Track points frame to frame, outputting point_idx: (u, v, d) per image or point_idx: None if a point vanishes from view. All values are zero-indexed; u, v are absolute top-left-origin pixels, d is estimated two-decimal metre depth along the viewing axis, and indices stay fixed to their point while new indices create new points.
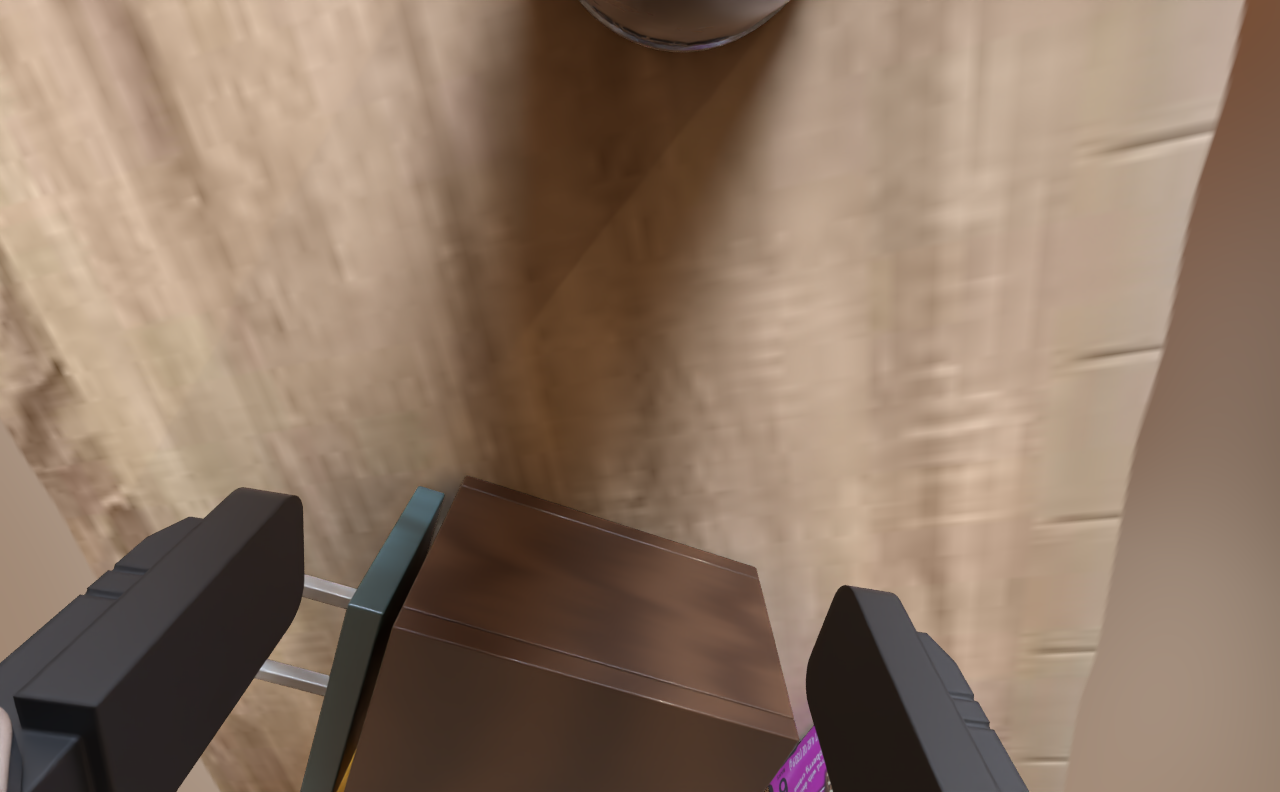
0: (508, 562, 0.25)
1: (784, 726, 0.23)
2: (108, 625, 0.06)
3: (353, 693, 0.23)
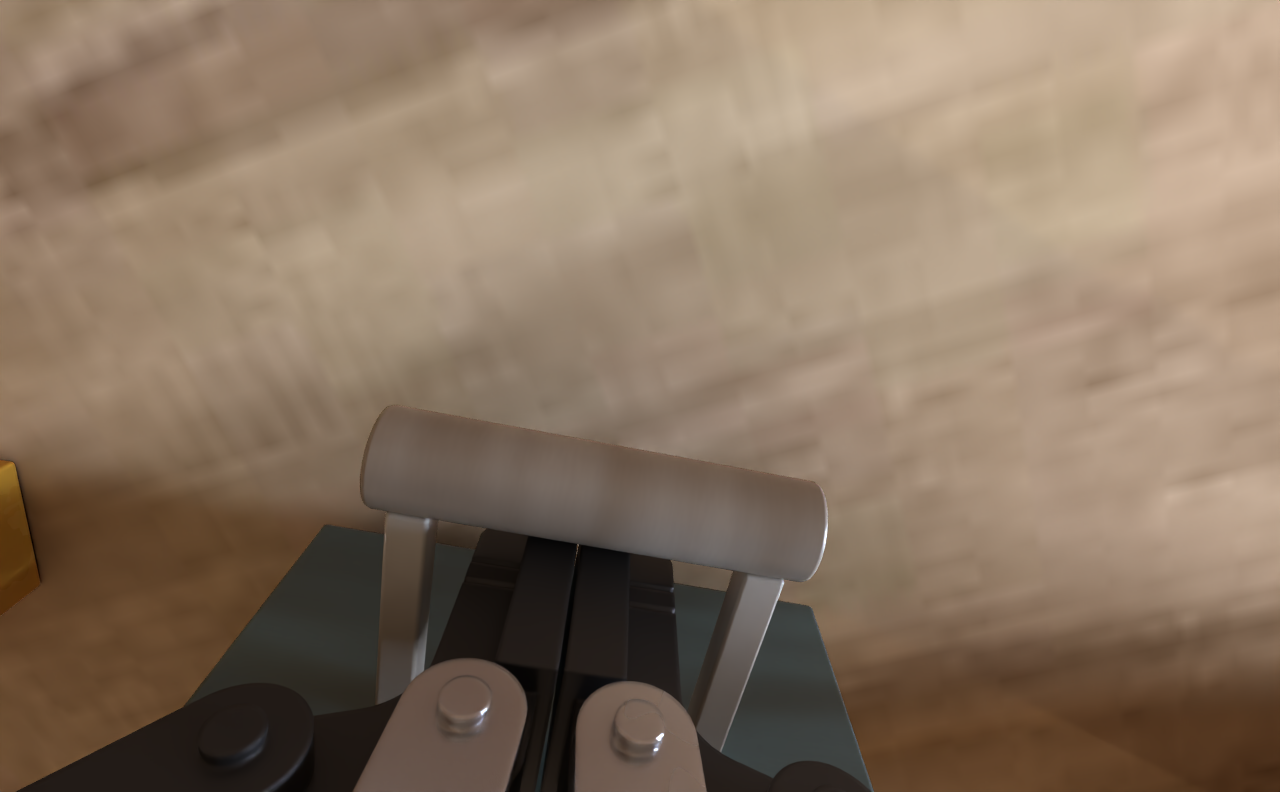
0: None
1: None
2: (523, 605, 0.08)
3: None
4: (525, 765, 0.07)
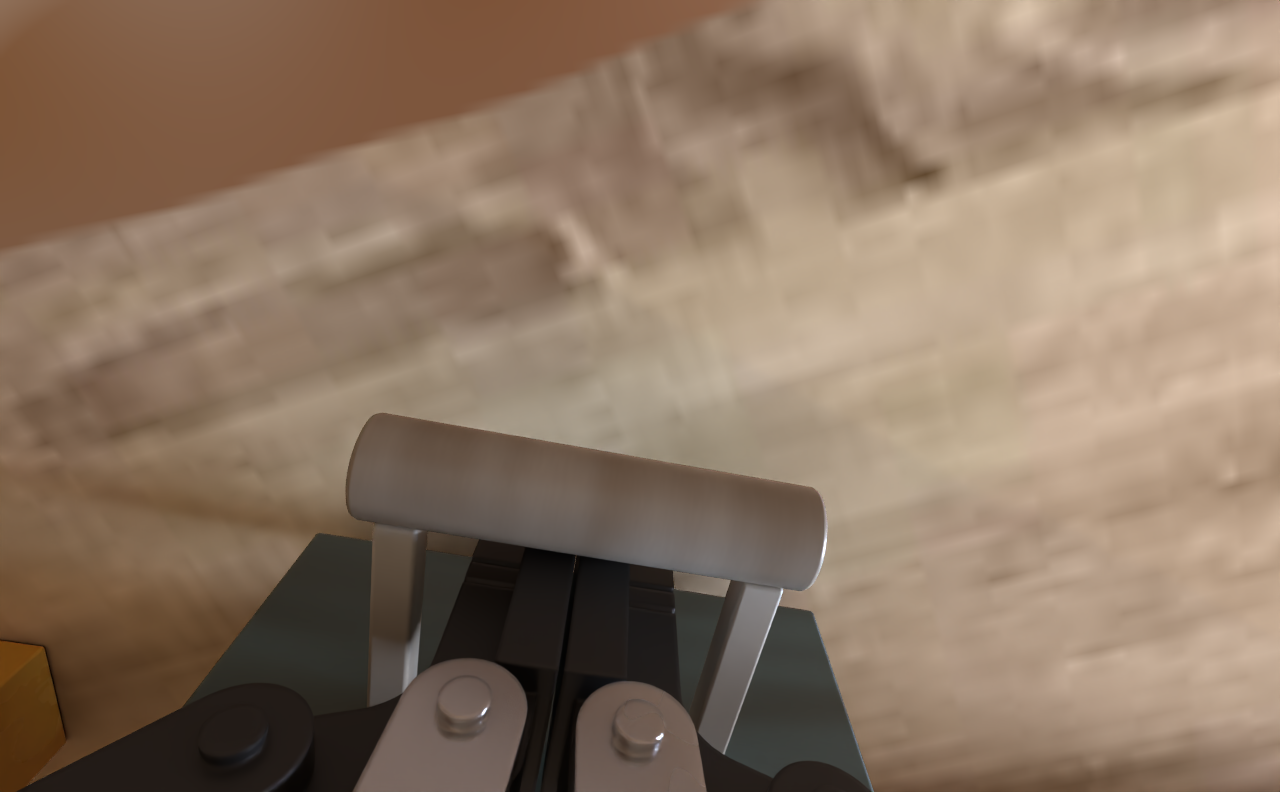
0: None
1: None
2: (523, 605, 0.08)
3: None
4: (525, 765, 0.07)
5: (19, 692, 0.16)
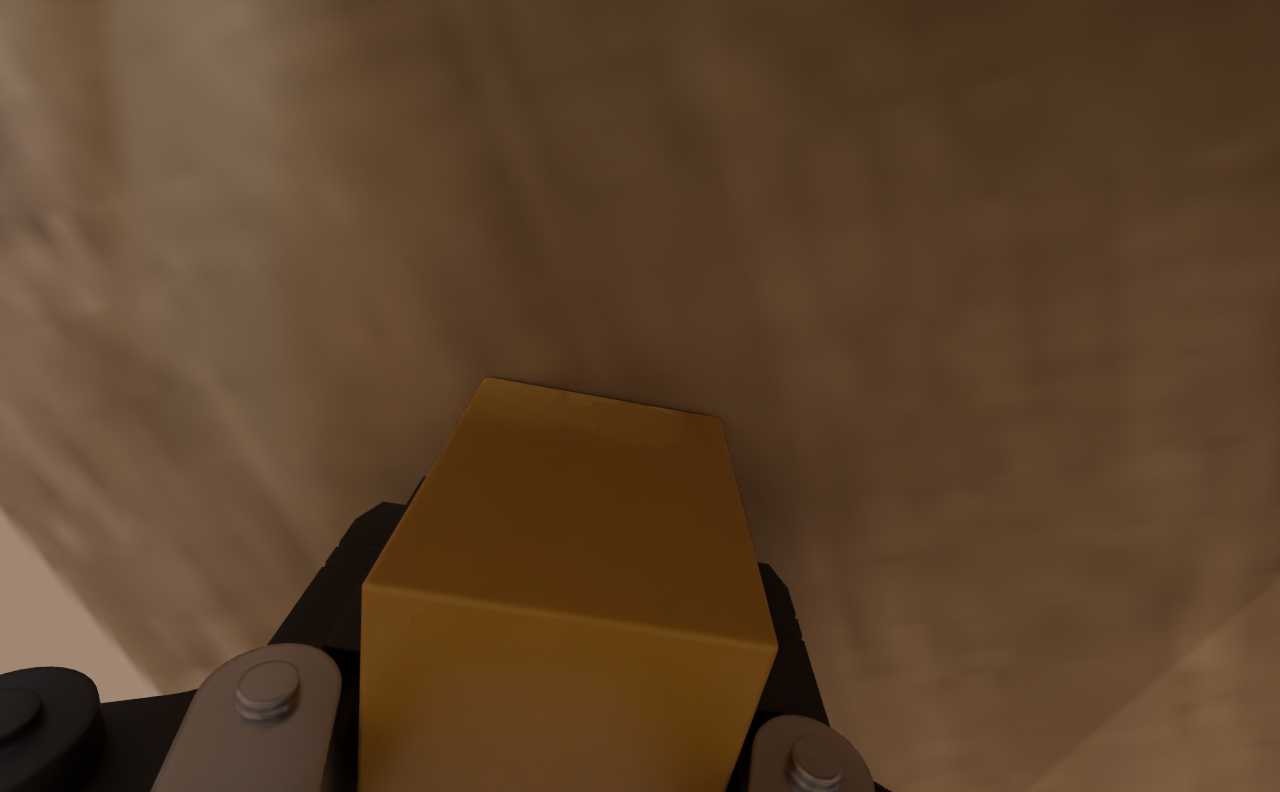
0: None
1: None
2: None
3: None
4: None
5: (518, 407, 0.09)
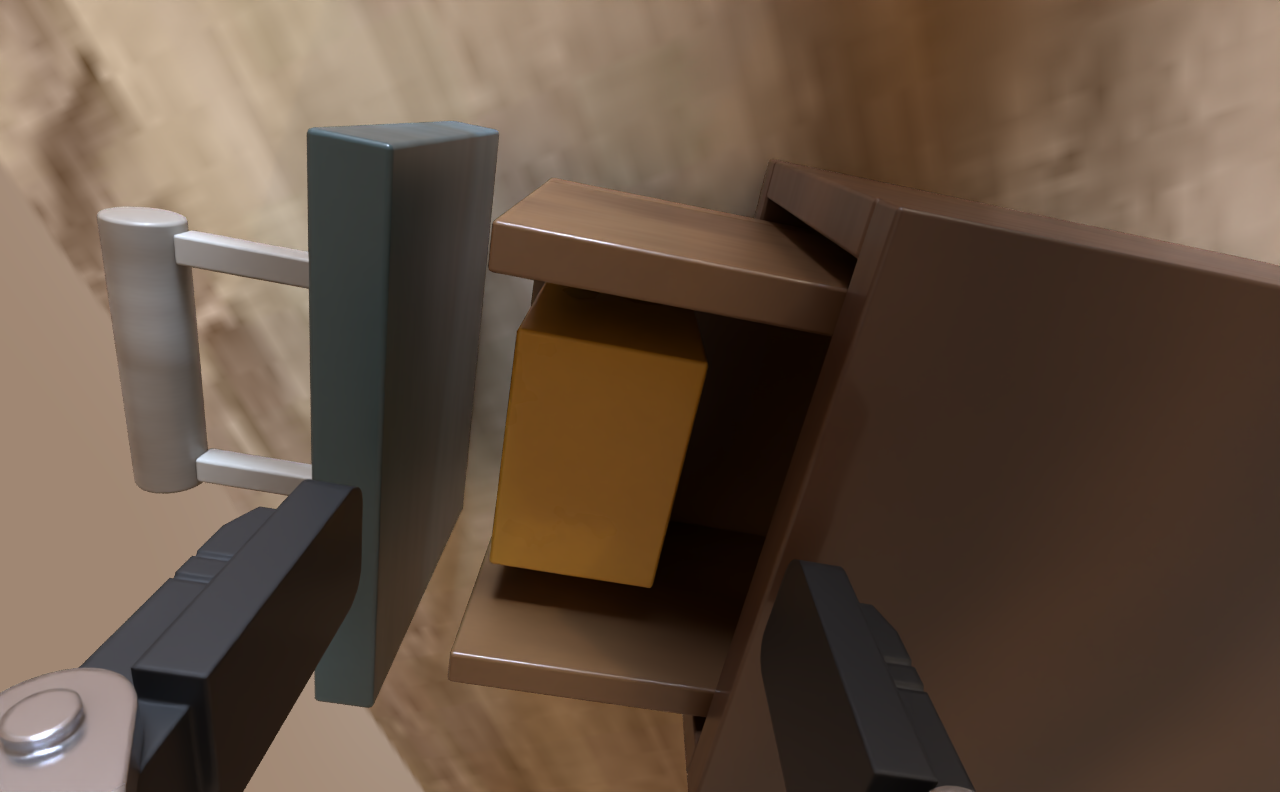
0: (957, 204, 0.13)
1: None
2: (206, 605, 0.07)
3: (367, 398, 0.10)
4: (203, 785, 0.07)
5: None
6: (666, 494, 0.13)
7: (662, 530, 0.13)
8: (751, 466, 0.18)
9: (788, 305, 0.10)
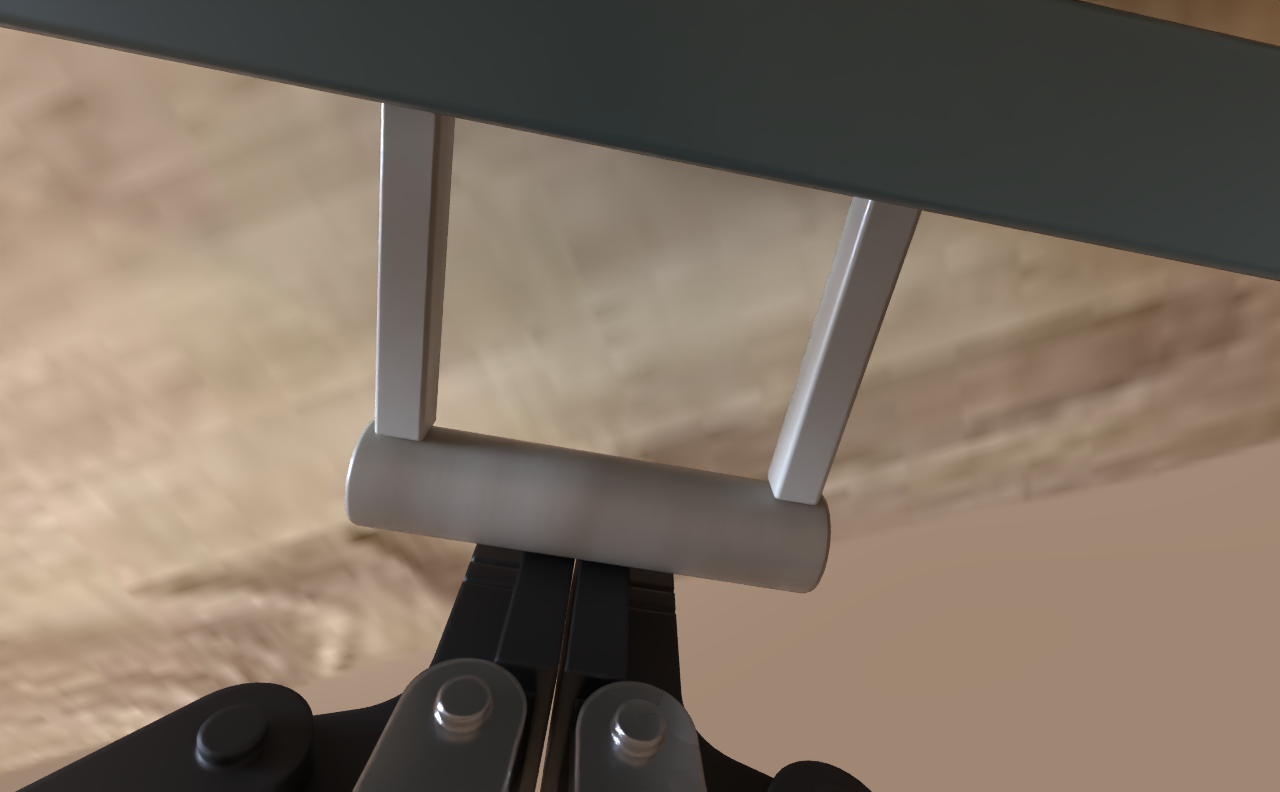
0: None
1: None
2: (523, 605, 0.08)
3: None
4: (525, 765, 0.07)
5: None
6: None
7: None
8: None
9: None
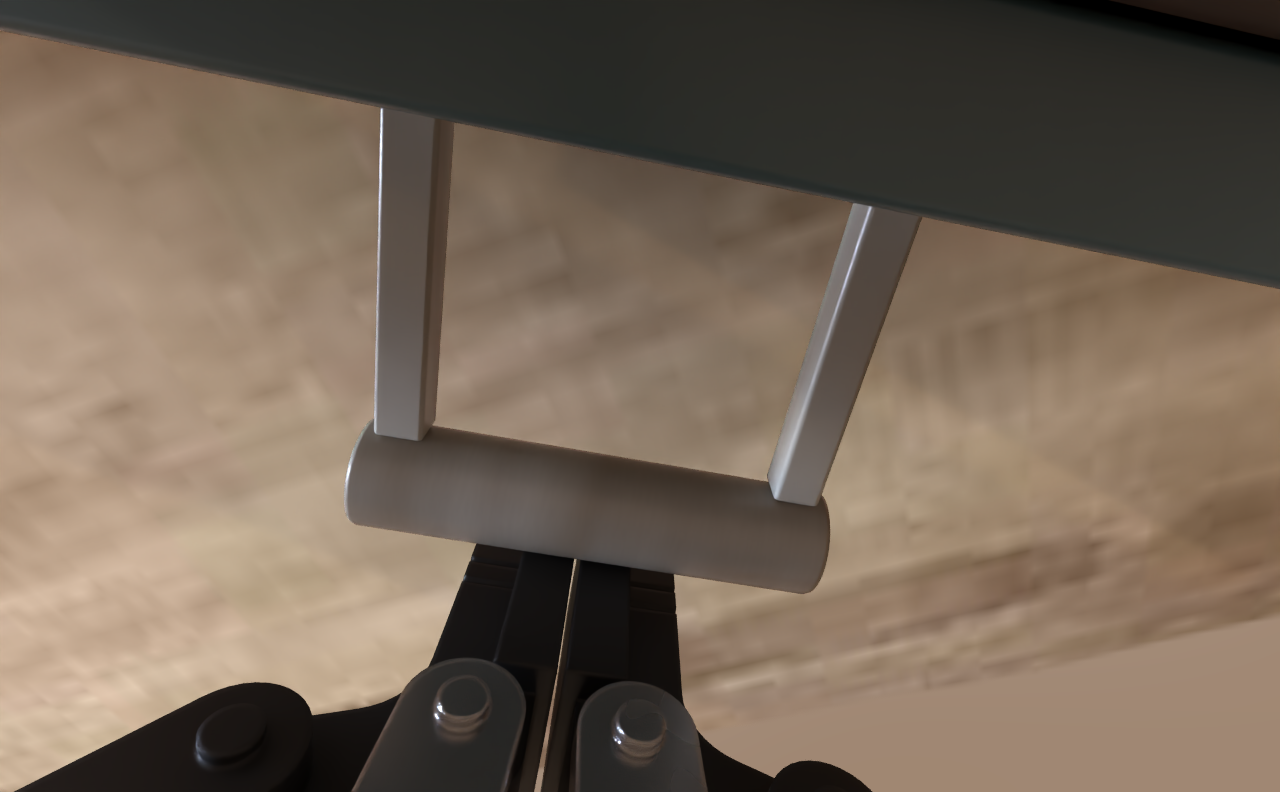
0: None
1: None
2: (523, 605, 0.08)
3: None
4: (524, 765, 0.07)
5: None
6: None
7: None
8: None
9: None
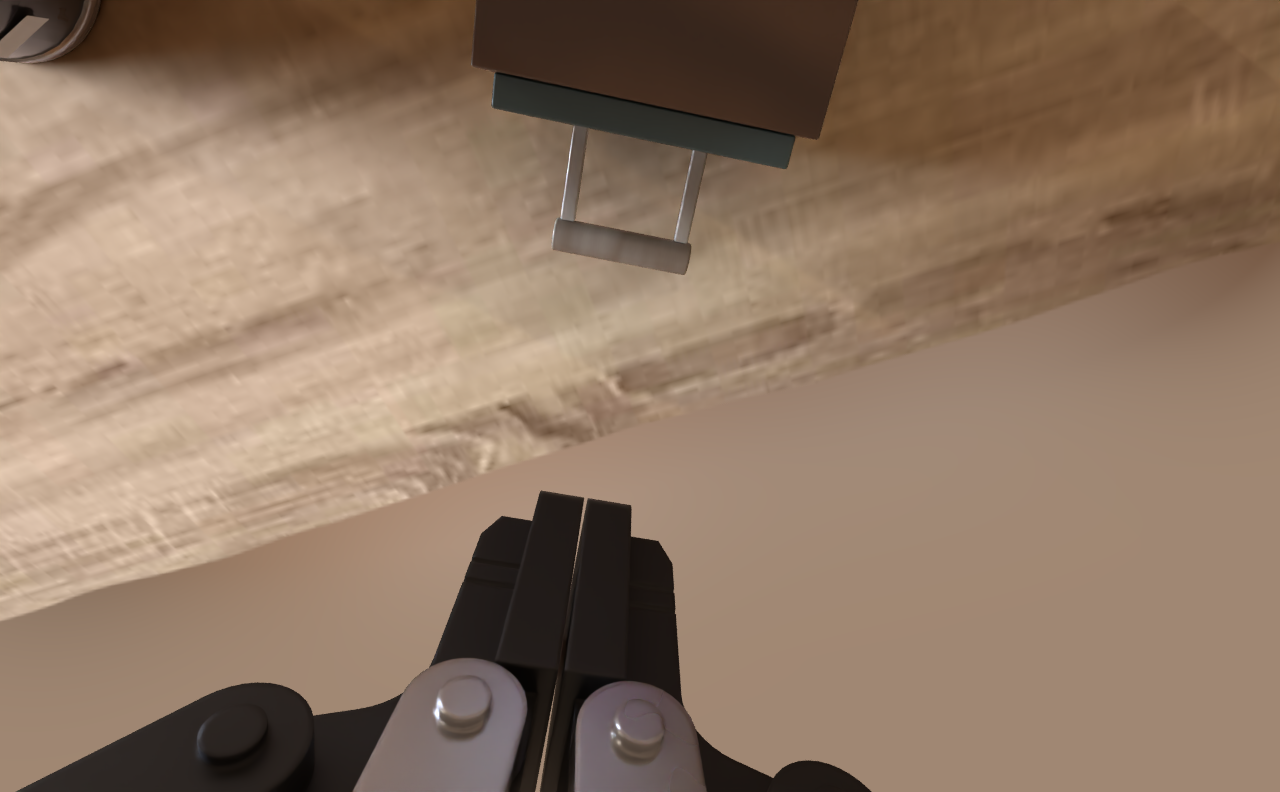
0: None
1: None
2: (523, 606, 0.08)
3: (602, 102, 0.23)
4: (525, 765, 0.07)
5: None
6: None
7: None
8: None
9: None
